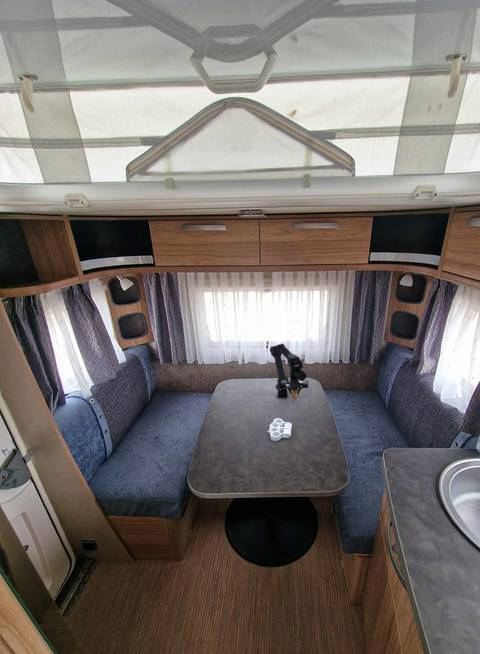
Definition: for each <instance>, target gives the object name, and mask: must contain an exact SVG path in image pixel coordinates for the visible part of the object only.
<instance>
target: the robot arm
mask: <svg viewBox="0 0 480 654" xmlns="http://www.w3.org/2000/svg"><path fill="white" fill-rule="evenodd" d="M269 353H270V354H271V357H273V359H274V363H275V367H276V372H277V377H278V378H277V380H276V382H277V384H276V385H275V389H276V390H277V398H279V399H281V398H282V399H286V398H287V397H288V395H290V396H291V390H293V389H294V390H297V389H298V395H299V394H300V392H301V390H302V389H309V381H308V380H306V379H307V377H308V376H307V373H306V372H305V371H304V370H303V368H304V366H303V362H302V360H301V358H300V357H299V356H298V355H297V354H294V353H292V352H291V350H289V349H288V348H287V346H286V344H285V343H278V344H275V345H271V346H270V347H269ZM282 356H283V357H284V358H285V359H286V362H287V364H288V368H289V378H288V377H287V376H286V373H285V369H284V363H283V360H282ZM288 392H289V394H288Z"/></svg>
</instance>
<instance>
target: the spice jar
mask: <svg viewBox="0 0 480 654" xmlns="http://www.w3.org/2000/svg"><path fill="white" fill-rule="evenodd" d="M298 397H299V394H298V389H297V390H294V389H293V390H291V395H290V398H291V399H293V400H295V399H298Z"/></svg>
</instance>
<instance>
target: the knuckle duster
mask: <svg viewBox="0 0 480 654" xmlns="http://www.w3.org/2000/svg"><path fill="white" fill-rule="evenodd" d="M292 426H293V424H292V422H290V421H289V422H288V421H284V420H283V418H278V417H276V418H274V419H273V421H272V422H271V423H270V424H269V425H268V427H269V428H268V430H267V431H266V432H267V433H268V434H269V437H270V440H271V441H273V442H277V441H280V440H281V439H289V438H291V435H292Z"/></svg>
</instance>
